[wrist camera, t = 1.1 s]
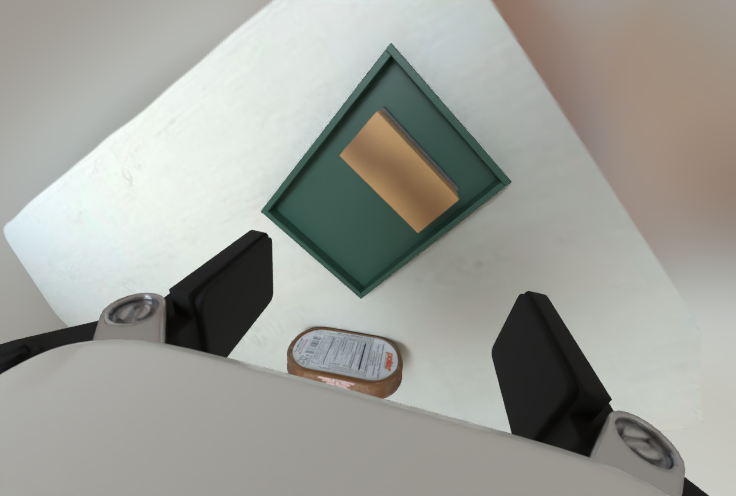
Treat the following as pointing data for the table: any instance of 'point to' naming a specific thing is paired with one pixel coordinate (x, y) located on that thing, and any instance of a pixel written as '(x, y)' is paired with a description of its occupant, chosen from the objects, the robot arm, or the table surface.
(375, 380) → the tin
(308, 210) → the tray
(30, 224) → the table surface
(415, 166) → the eraser
